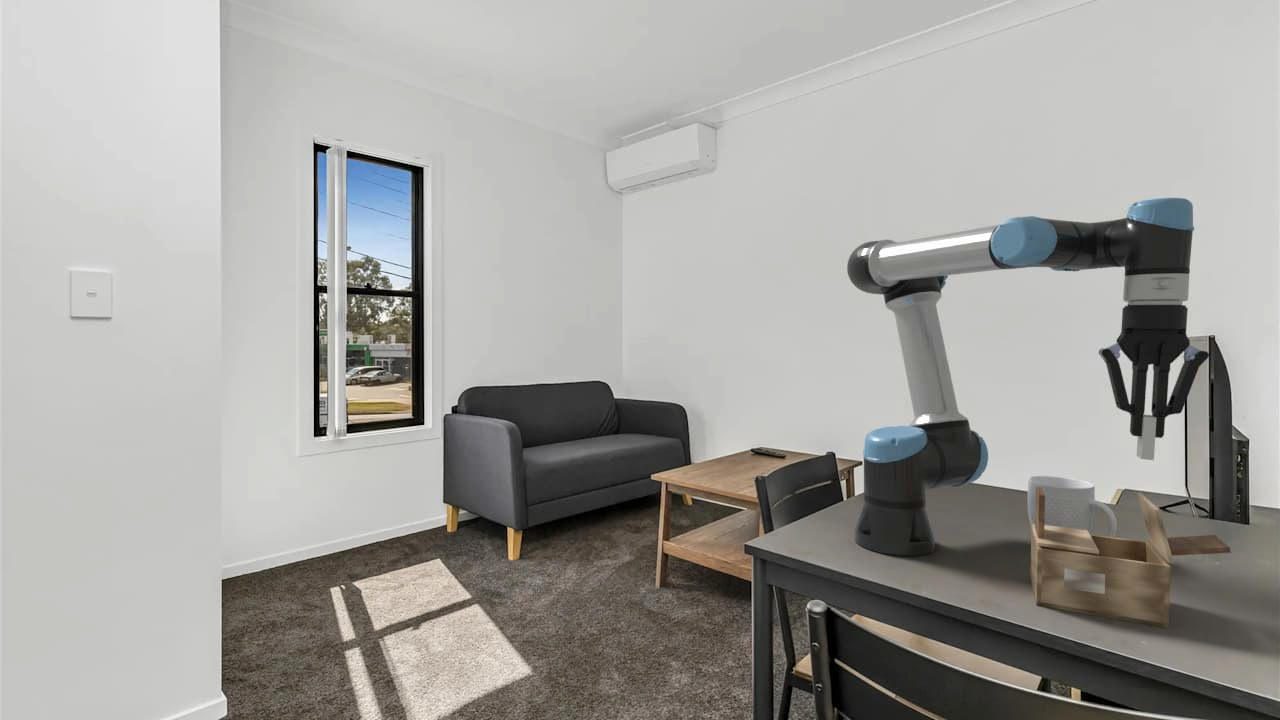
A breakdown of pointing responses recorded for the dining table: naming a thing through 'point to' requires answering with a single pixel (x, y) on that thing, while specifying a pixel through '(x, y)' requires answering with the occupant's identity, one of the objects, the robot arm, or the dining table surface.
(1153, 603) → the carton
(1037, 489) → the left flap
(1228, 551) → the right flap
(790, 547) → the dining table surface
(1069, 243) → the robot arm
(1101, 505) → the mug
